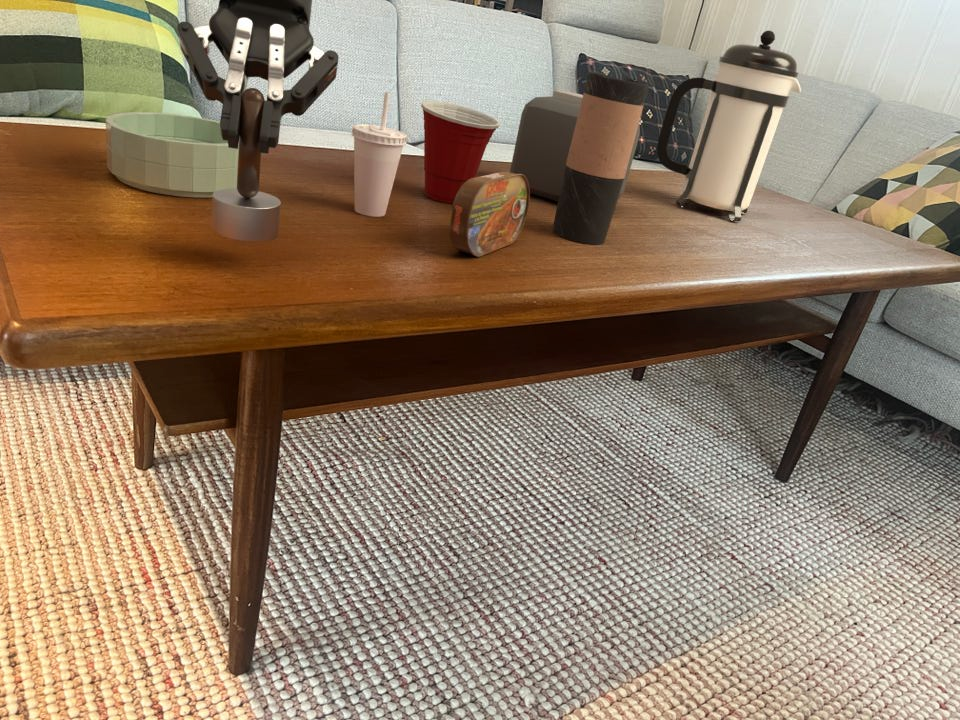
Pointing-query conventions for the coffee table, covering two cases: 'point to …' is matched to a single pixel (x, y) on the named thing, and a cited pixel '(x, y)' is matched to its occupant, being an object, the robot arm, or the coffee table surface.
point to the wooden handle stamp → (247, 185)
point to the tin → (489, 212)
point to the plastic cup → (453, 146)
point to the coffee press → (733, 125)
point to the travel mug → (598, 157)
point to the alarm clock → (550, 142)
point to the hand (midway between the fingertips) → (248, 144)
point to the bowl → (170, 154)
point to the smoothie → (375, 164)
